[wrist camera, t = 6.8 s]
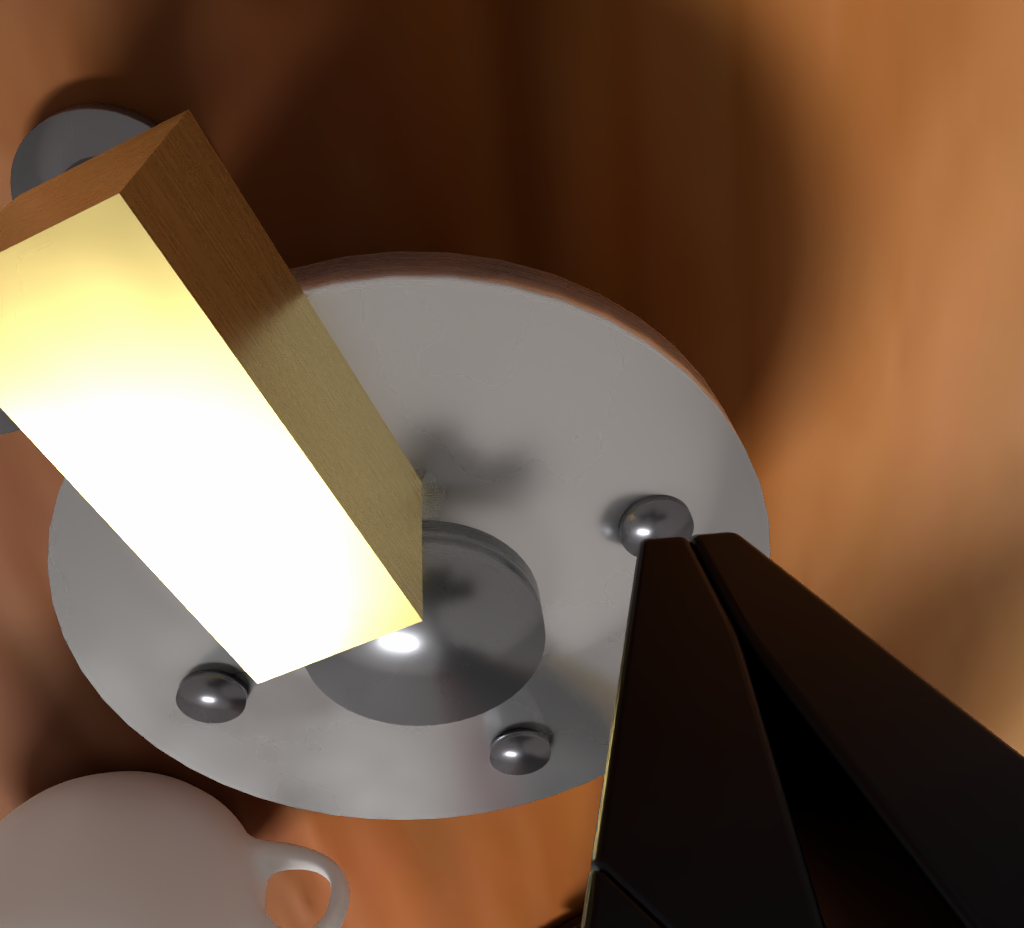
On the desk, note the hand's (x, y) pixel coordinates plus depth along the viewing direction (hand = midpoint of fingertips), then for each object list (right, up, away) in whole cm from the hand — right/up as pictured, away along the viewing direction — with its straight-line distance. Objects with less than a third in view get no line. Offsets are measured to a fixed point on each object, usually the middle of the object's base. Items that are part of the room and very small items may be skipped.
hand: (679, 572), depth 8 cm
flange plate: (-4, 0, +8) cm, 9 cm away
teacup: (-11, -9, +17) cm, 22 cm away
